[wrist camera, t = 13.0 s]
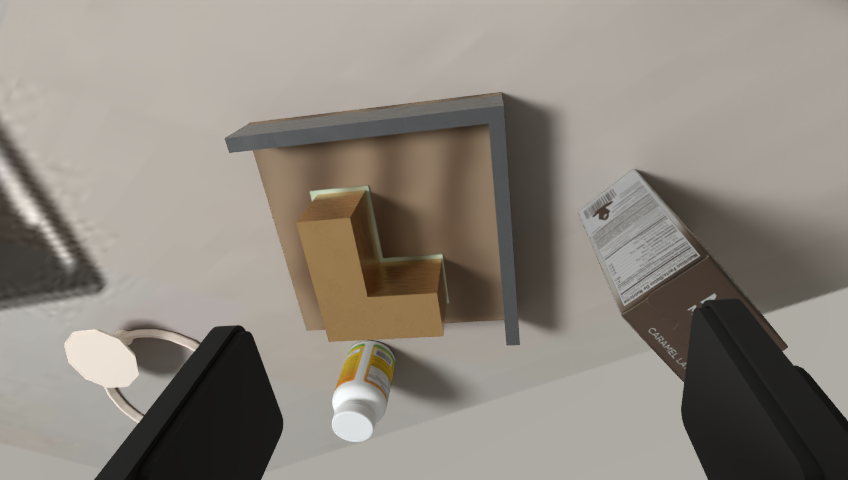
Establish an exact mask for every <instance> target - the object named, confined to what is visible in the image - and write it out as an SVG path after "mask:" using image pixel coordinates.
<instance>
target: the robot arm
mask: <svg viewBox="0 0 848 480" xmlns="http://www.w3.org/2000/svg"><path fill="white" fill-rule="evenodd" d="M681 413H682V420H683V423H684V427H685V429H686V431H687V434H688V436H689V438H690V440H691V442H692V445H693V447H694V449H695V451H696V453H697V456H698V458H699V460H700V463H701V465H702V467H703V469H704V471H705V474H706V476H707V478H708V480H848V421H847V419H846V418H845V417H844V416H843V415H842V413H841V412H840V411H839V410H838V408H837V407H836V406H835V405H834V404H833V402H832V401H831V400H830V399H829V398H828V396H827V395H826V394H825V393H824V392H823V390H822V389H821V388H820V387H819V386H818V385H817V383H816V382H815V381H814V379H813V378H812V377H811V376H810V375H809V374H808V373H807V372H806V371H805V370H804V369H803V368H801V367H799V366H793V364H792V363H791V362H790V361H789V359H788V358H787V357H786V356H785V354H784V353H783V352H782V351H781V349H780V348H779V347H778V346H777V344H776V343H775V342H774V341H773V339H772V338H771V337H770V336H769V335H768V333H767V332H766V331H765V330H764V328H763V327H762V326H761V325H760V323H759V322H758V321H757V320H756V318H755V317H754V316H753V315H752V313H751V312H750V311H749V310H748V308H747V307H746V306H745V305H744V303H743V302H742V301H741V300H740V299H736V298H735V299H716V300H706V301H704V303H703V304H702V308H695V309H694V311H693V314H692V322H691V331H690V339H689V347H688V356H687V364H686V373H685V381H684V390H683V398H682V407H681ZM282 430H283V418H282V414H281V412H280V409H279V406H278V403H277V401H276V398H275V395H274V393H273V390H272V387H271V384H270V382H269V379H268V376H267V373H266V371H265V368H264V365H263V363H262V360H261V357H260V354H259V352H258V349H257V346H256V344H255V341H254V338H253V336H252V334H251V333H250V332H248V331H245V329H244V328H243V327H242V326H239V325H237V326H219V327H214V328H213V329H212V330H211V331H210V332H209V333H208V335H207V336H206V337H205V339H204V340H203V341H202V342H201V344H200V345H199V346H198V348H197V349H196V350H195V351H194V353H193V354H192V355H191V356H190V358H189V359H188V360H187V362H186V363H185V364H184V365H183V367H182V368H181V369H180V371H179V372H178V373H177V374H176V376H175V377H174V378H173V380H172V381H171V382H170V383H169V385H168V386H167V387H166V388H165V390H164V391H163V392H162V394H161V395H160V396H159V397H158V399H157V400H156V401H155V403H154V404H153V405H152V406H151V408H150V409H149V410H148V412H147V413H146V414H145V415H144V417H143V418H142V419H141V420H140V422H139V423H138V424H137V426H136V427H135V428H134V429H133V431H132V432H131V433H130V435H129V436H128V437H127V438H126V440H125V441H124V442H123V444H122V445H121V446H120V447H119V449H118V450H117V451H116V453H115V454H114V455H113V456H112V458H111V459H110V460H109V461H108V463H107V464H106V465H105V467H104V468H103V469H102V470H101V472H100V473H99V474H98V476H97V477H96V478H95V479H94V480H261V479H262V476H263V474H264V472H265V470H266V467H267V465H268V463H269V461H270V458H271V456H272V454H273V452H274V449H275V447H276V445H277V443H278V441H279V438H280V436H281V433H282Z"/></svg>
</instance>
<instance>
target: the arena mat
mask: <svg viewBox="0 0 848 480" xmlns="http://www.w3.org/2000/svg"><path fill="white" fill-rule="evenodd" d="M494 95H502V94H501V92H499V93H490V94H482V95H474V96H466V97H458V98H449V99H441V100H433V101H425V102H417V103H408V104H400V105H392V106H384V107H376V108H367V109H359V110H351V111H343V112H335V113H326V114H318V115H310V116H302V117H294V118H286V119H277V120H269V121H261V122H253V123H249V124H247V125H255V124H263V123H272V122H280V121H288V120H296V119H305V118H313V117H321V116H329V115H337V114H346V113H354V112H362V111H370V110H379V109H387V108H395V107H403V106H412V105H420V104H428V103H436V102H445V101H453V100H461V99H469V98H478V97H486V96H494ZM247 125H246V126H247ZM253 152H254V156H255V159H256V162H257V166H258V169H259V172H260V176H261V179H262V183H263V186H264V189H265V193H266V196H267V199H268V203H269V206H270V209H271V213H272V216H273V219H274V223H275V226H276V229H277V233H278V236H279V239H280V243H281V246H282V249H283V253H284V256H285V259H286V263H287V266H288V270H289V273H290V276H291V280H292V283H293V286H294V290H295V293H296V296H297V300H298V303H299V306H300V310H301V313H302V316H303V320H304V323H305V326H306V330H326V329H325V326H324V322H323V319H322V315H321V311H320V308H319V304H318V300H317V297H316V293H315V290H314V286H313V282H312V279H311V275H310V271H309V268H308V264H307V261H306V257H305V253H304V250H303V246H302V242H301V239H300V235H299V232H298V228H297V224H296V222H297V221H298V219H299V218H300V217H301V215H302V214H303V213H304V211H305V210H306V209H307V208H308V206H309V205H310V204H311V202H312V201H313V200H314V199H315V197H316V196H317V195H318V194H329V193H339V192H350V191H361V190H366V195H367V200H368V205H369V210H370V215H371V220H372V225H373V230H374V235H375V240H376V245H377V250H378V255H379V260H380V263H382V262H396V261H410V260H424V259H438V258H442V263H443V270H444V278H445V285H446V292H447V306H446V316H445V323H454V322H473V321H491V320H505V319H504V307H503V294H502V282H501V270H500V257H499V245H498V233H497V221H496V208H495V196H494V184H493V171H492V159H491V147H490V135H489V124H480V125H471V126H462V127H453V128H445V129H436V130H427V131H418V132H409V133H400V134H392V135H383V136H374V137H365V138H356V139H347V140H338V141H330V142H321V143H312V144H303V145H294V146H285V147H277V148H268V149H259V150H253Z"/></svg>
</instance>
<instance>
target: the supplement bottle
mask: <svg viewBox="0 0 848 480" xmlns="http://www.w3.org/2000/svg"><path fill="white" fill-rule="evenodd" d="M394 369H395V357H394V355H393V353H392V352H391V350H390V349H389V348H388V347H387V346H385V345H384V344H382V343H379V342H376V341H362V342H359V343H357V344H355V345H354V346H353V347H352V348H351V349H350V351H349V353H348V355H347V358H346V360H345V364H344V366H343V369H342V372H341V375H340V378H339V380H338V383H337V386H336V389H335V392H334V395H333V400H332V404H333V408H334V411H335V413H334V417H333V420H332V428H333V430H334V432H335V433H336V434H337V435H338V436H339V437H341V438H342V439H345V440H347V441H351V442H360V441H364V440H366V439H368V438H369V437H370V436H371V435H372V433H373V431H374V427H375V424H376V423H377V422H378V421H379V420H380V419H381V418H382V417H383V415H384V413H385V410H386V407H387V402H388V397H389V392H390V387H391V383H392V378H393V374H394Z"/></svg>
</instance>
